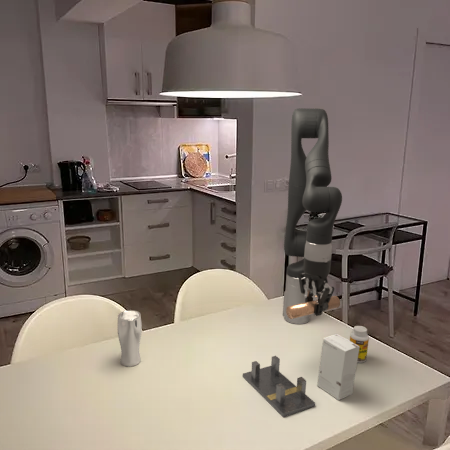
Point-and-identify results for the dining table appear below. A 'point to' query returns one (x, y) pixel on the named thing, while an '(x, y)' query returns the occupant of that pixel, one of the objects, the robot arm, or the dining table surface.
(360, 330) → the supplement bottle
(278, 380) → the tube holder
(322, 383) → the skincare box
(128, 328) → the white sculpted vase
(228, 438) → the dining table surface
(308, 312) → the copper tube
